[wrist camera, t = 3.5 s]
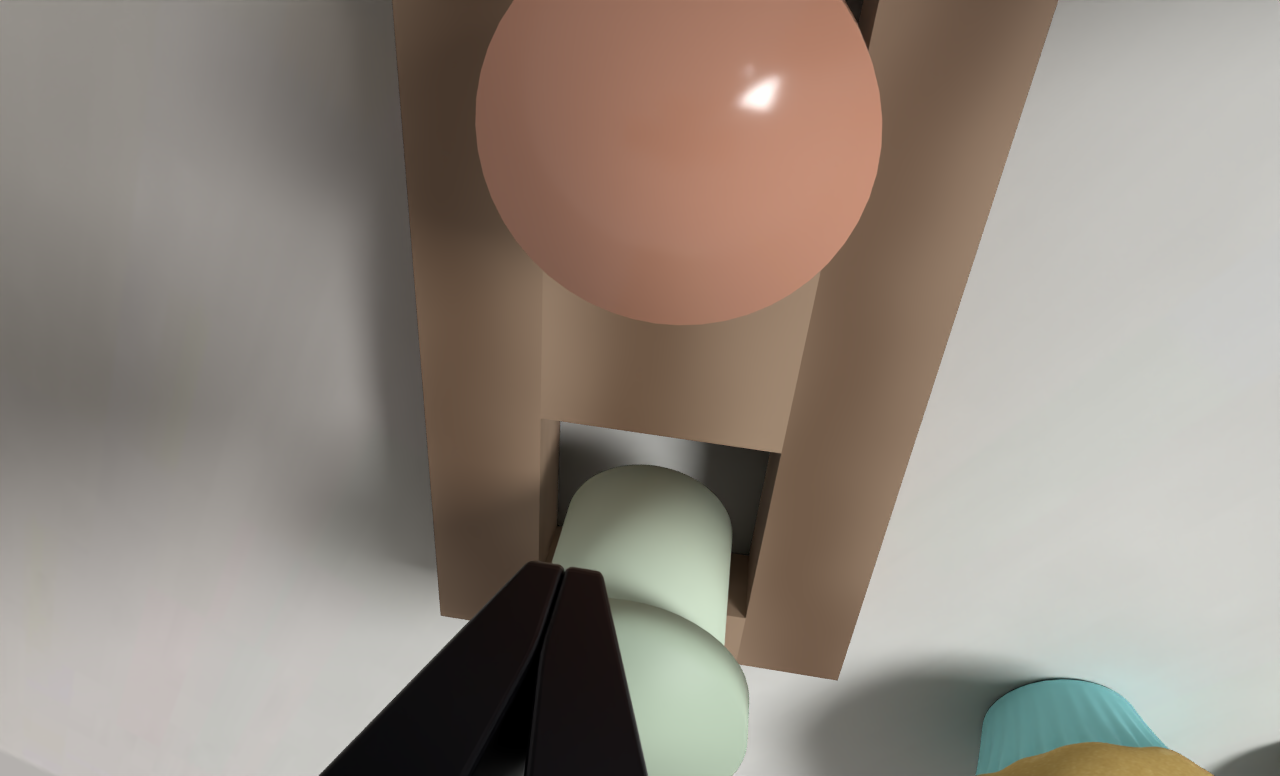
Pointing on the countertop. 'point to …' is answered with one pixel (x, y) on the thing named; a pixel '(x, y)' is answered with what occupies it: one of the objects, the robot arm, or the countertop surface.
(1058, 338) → the countertop surface
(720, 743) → the sage plunger
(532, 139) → the terracotta plunger
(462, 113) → the panel
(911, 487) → the countertop surface
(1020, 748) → the cupcake
